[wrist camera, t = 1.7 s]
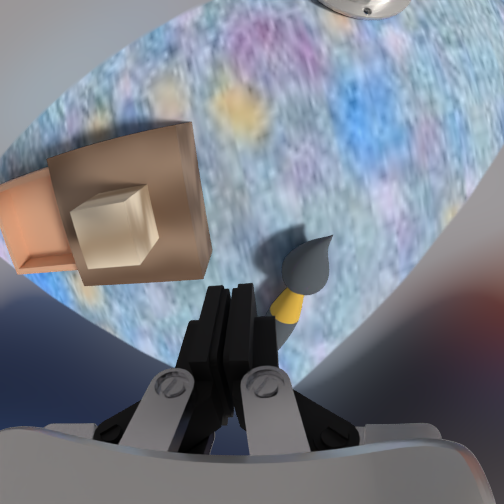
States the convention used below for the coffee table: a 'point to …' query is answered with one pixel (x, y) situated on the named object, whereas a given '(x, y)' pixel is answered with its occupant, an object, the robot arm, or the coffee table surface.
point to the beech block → (116, 227)
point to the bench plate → (161, 195)
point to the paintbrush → (299, 283)
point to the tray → (34, 225)
